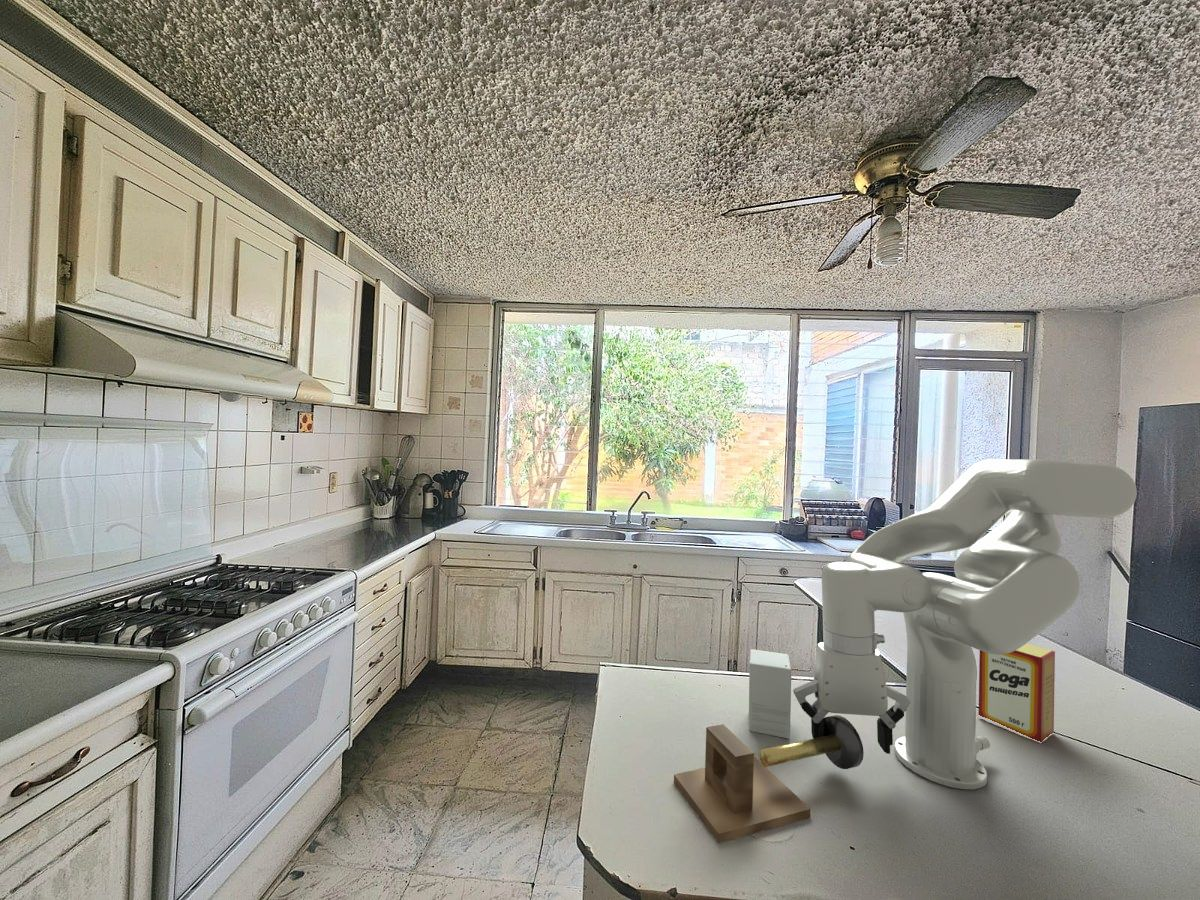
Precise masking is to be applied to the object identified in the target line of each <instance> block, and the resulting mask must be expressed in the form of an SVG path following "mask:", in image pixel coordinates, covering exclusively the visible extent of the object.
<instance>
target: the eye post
mask: <svg viewBox="0 0 1200 900" xmlns="http://www.w3.org/2000/svg"><path fill="white" fill-rule="evenodd" d="M705 729H706V730H705V760H704V761H705V762H704V763H705V764H704V767H702V768H698V769H692V770H688V771H684V772H679V773H674V775H673V783H674V784H675V786H676V787H677V788H678V790H679V791H680V793H681V794H682V796H684V799H685V800H686V801H687V802H688V804H689V805H690V807H691V808H692V809H693V811H694V812H695V813H696V814H697V816H698V817H699V818H700V820H701V822H702V823H703V824H704V826H705V827H706V828H707V830H708V831H709V832H710V834H711V835H712V836H713V838H714V839H715V840H716V842H717V844H721V843H725V842H728V841H732V840H735V839H739V838H742V837H746V836H749V835H752V834H756V833H760V832H764V831H767V830H771V829H775V828H777V827H778V828H779V827H782V826H785V825H789V824H791V823H792V824H793V823H796V822H799V821H804V820H806V819H809V818H811V807H809V806H808V805H807V804H806V803H805V802H804V801H803V800H802V799H800V797H798V795H796V794H795V793H794V792H793V791H792V790H791V789H790V788H789V787H788V786H787V785H786V784H785V783H783V781H782V780H781V779H780V778H778V777H777V775H775V774H774V773H773V772H772V771H771V770H770V769H769V768H768V767H764V766H763V765H762V763H761V761H760V759H758V758H757V757H756V756H755V753H754V751H753V750H752V749H751V748H749V747H748V746H747V745H746V744H745V743H744V742H743V741H742V740H741V739H740V738H739V737H737V736H736V734H735V733H733V732H732V731H731V730H730V729H729V728H728V727H727V726H726V725H724V723H722V724H717V725H712V726H707V727H706V728H705Z"/></svg>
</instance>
